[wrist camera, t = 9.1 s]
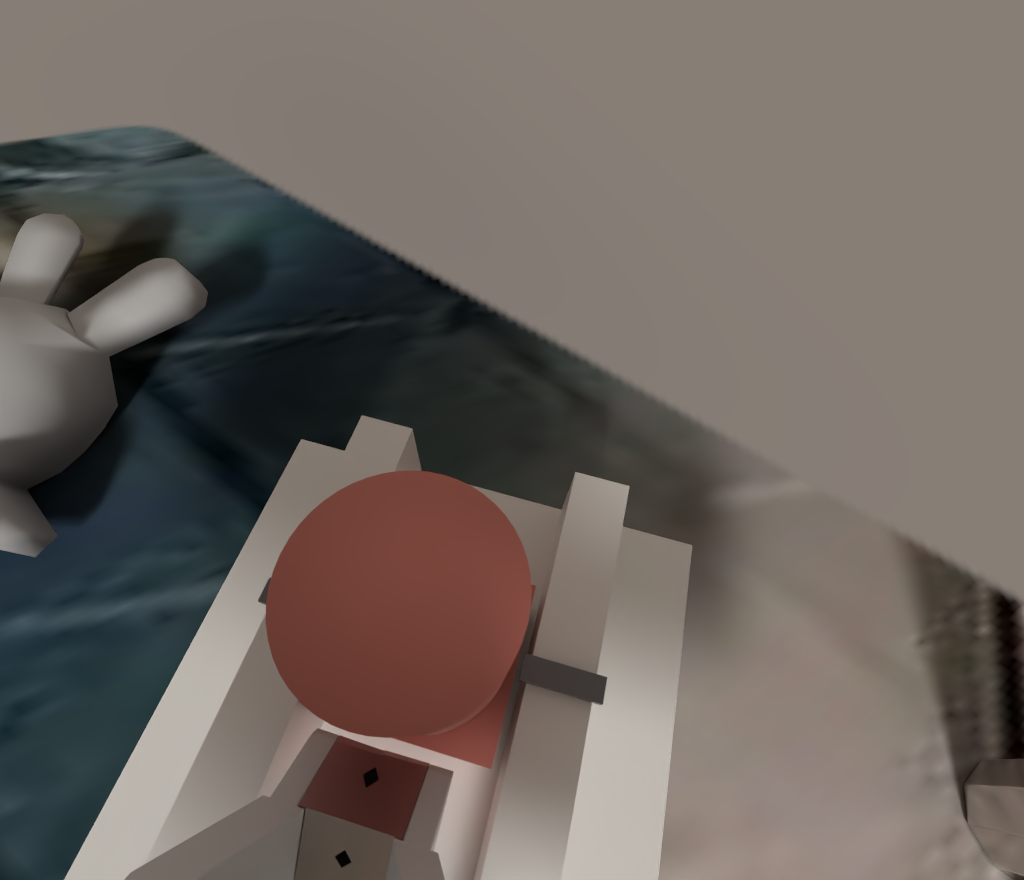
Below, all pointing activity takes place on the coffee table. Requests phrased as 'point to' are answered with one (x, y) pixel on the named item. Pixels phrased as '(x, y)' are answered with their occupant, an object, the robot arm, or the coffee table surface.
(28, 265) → the bunny figurine
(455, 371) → the coffee table surface
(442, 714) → the red plug
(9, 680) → the coffee table surface
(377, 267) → the coffee table surface
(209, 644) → the white slider track base
